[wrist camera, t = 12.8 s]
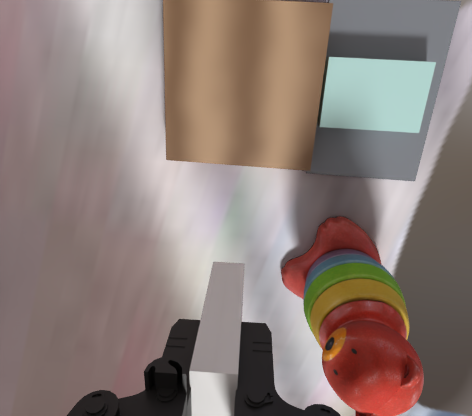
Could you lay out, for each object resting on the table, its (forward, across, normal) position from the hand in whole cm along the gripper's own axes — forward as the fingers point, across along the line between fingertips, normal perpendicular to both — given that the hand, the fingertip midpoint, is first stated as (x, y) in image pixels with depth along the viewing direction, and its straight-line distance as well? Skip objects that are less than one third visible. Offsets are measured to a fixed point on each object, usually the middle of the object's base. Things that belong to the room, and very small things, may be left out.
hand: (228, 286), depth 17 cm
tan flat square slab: (+22, 0, +8) cm, 23 cm away
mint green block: (+21, +12, +8) cm, 25 cm away
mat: (+21, +12, +8) cm, 26 cm away
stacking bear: (+21, +11, -11) cm, 27 cm away
